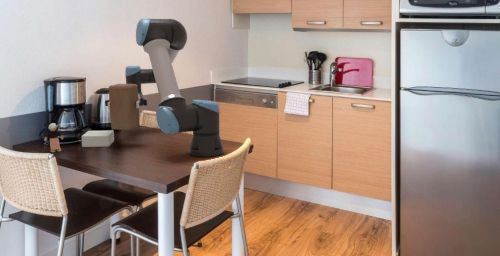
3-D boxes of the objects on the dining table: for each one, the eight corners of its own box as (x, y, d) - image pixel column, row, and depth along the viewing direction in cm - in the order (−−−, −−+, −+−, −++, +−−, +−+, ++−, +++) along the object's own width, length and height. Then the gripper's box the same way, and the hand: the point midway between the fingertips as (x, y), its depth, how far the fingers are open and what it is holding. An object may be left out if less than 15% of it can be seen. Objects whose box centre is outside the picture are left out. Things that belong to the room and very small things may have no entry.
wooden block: (130, 130, 201) (128, 86, 197) (110, 129, 203) (107, 85, 199) (140, 126, 211) (138, 83, 207) (121, 125, 213) (118, 83, 209)
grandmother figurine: (61, 149, 202) (59, 121, 200) (65, 150, 200) (62, 122, 197) (44, 152, 197) (41, 123, 194) (47, 153, 194) (44, 125, 192)
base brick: (108, 146, 207) (108, 136, 206) (82, 146, 206) (81, 136, 205) (114, 140, 219) (113, 130, 218) (88, 140, 218) (88, 130, 217)
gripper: (155, 106, 224) (150, 113, 203) (106, 106, 222) (96, 114, 201) (155, 91, 223) (149, 96, 202) (105, 91, 221) (94, 97, 200)
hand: (123, 105), depth 201 cm, fingers closed on wooden block, 12 cm apart
